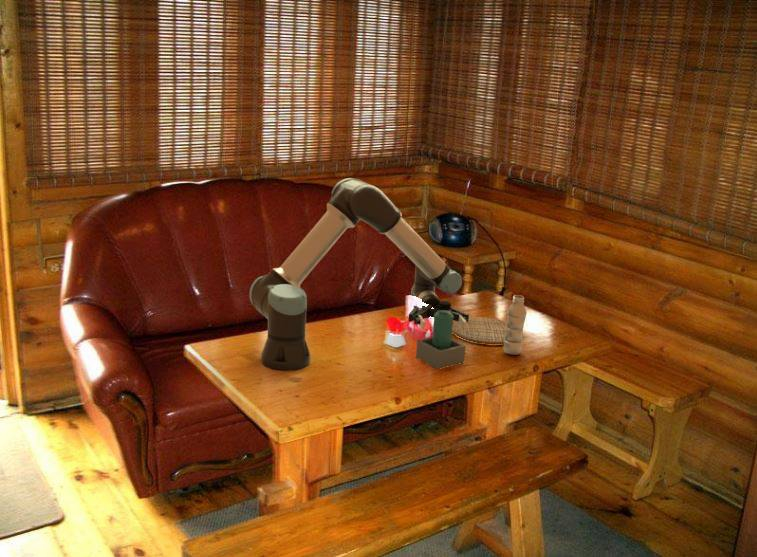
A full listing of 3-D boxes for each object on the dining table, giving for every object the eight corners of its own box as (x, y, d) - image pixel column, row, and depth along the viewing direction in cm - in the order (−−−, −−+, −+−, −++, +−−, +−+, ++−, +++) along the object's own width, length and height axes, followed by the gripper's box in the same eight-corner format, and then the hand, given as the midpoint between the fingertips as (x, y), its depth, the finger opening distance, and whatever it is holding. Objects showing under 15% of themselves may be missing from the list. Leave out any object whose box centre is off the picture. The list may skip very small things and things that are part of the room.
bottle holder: (416, 357, 265) (417, 340, 263) (441, 351, 272) (443, 334, 270) (438, 369, 257) (439, 351, 255) (463, 363, 263) (465, 345, 262)
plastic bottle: (499, 354, 273) (505, 297, 267) (506, 348, 279) (512, 292, 273) (517, 358, 270) (524, 301, 264) (524, 352, 276) (531, 296, 270)
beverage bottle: (451, 358, 267) (457, 300, 261) (447, 365, 260) (453, 306, 255) (432, 355, 268) (437, 297, 262) (427, 362, 262) (432, 303, 256)
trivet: (448, 319, 304) (449, 314, 304) (516, 324, 304) (516, 319, 303) (452, 343, 281) (452, 338, 280) (524, 349, 280) (525, 344, 279)
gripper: (463, 315, 284) (480, 337, 264) (393, 314, 280) (405, 337, 260) (465, 294, 282) (483, 315, 262) (394, 293, 278) (407, 314, 258)
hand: (444, 326), depth 261 cm, fingers open, 13 cm apart
